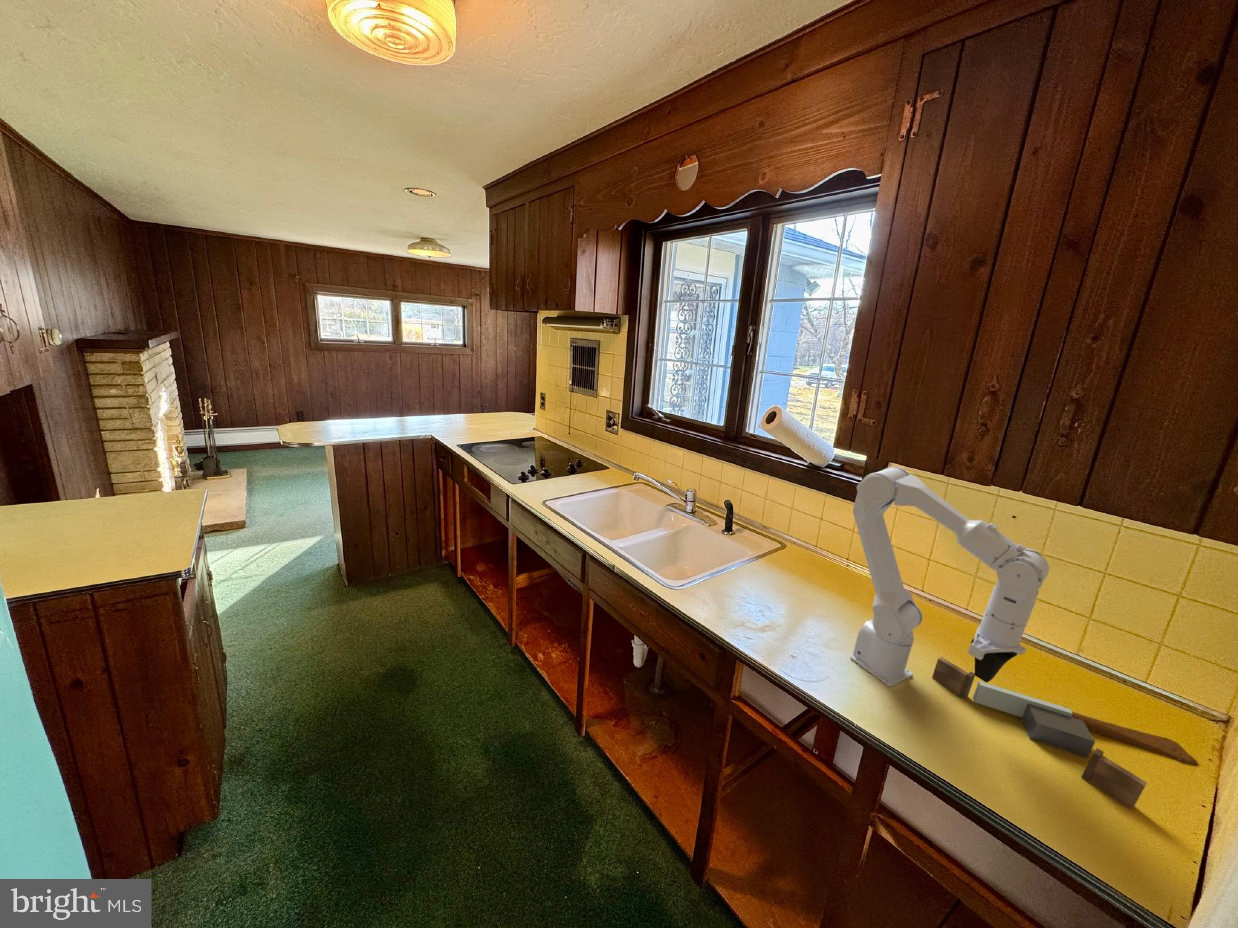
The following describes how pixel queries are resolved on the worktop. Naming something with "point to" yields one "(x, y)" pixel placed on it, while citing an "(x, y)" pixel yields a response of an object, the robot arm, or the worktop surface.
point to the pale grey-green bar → (1011, 700)
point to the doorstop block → (1057, 730)
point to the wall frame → (1098, 767)
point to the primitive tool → (1138, 739)
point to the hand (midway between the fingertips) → (982, 677)
